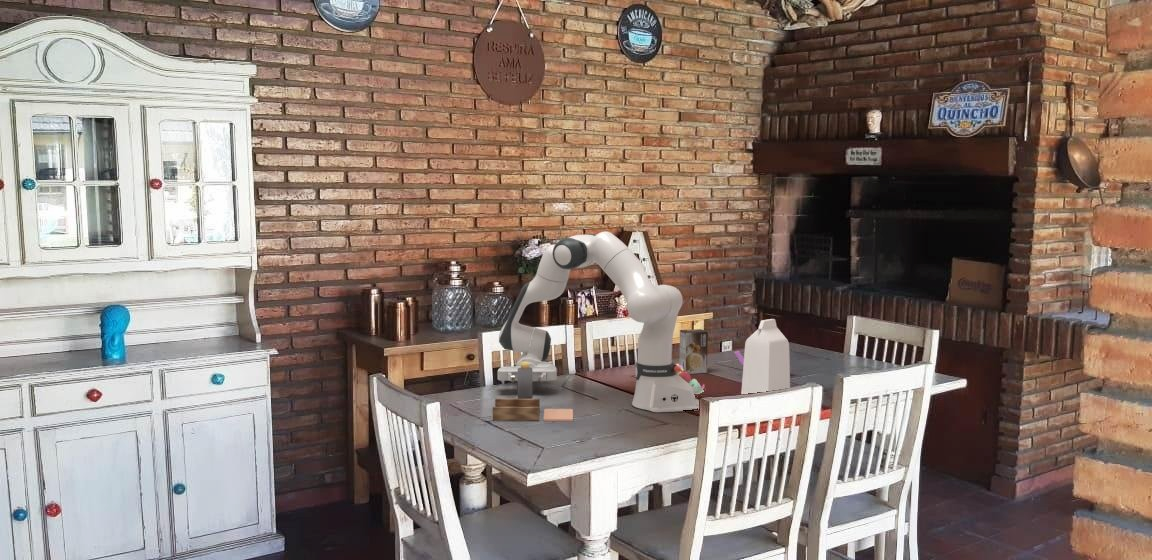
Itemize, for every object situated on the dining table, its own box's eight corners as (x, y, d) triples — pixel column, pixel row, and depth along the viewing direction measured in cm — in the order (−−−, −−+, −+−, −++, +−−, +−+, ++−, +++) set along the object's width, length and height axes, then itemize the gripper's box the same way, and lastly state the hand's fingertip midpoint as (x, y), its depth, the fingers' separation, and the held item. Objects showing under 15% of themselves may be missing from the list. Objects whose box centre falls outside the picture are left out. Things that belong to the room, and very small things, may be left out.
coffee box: (700, 369, 347) (701, 328, 345) (707, 373, 341) (708, 331, 339) (678, 370, 344) (679, 329, 342) (685, 374, 338) (686, 332, 336)
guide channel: (539, 411, 284) (539, 398, 284) (538, 420, 273) (538, 407, 273) (495, 410, 284) (495, 398, 284) (492, 420, 273) (492, 407, 273)
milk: (767, 400, 300) (770, 324, 297) (741, 394, 309) (743, 319, 306) (790, 395, 307) (792, 320, 304) (763, 389, 316) (765, 316, 313)
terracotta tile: (572, 410, 285) (572, 409, 285) (573, 421, 273) (573, 419, 273) (544, 410, 285) (544, 408, 285) (543, 421, 273) (543, 419, 273)
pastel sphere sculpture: (624, 393, 310) (625, 366, 309) (651, 379, 331) (651, 355, 330) (693, 402, 298) (693, 375, 297) (716, 387, 319) (717, 362, 318)
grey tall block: (532, 402, 294) (532, 361, 293) (532, 406, 290) (532, 364, 288) (518, 402, 294) (518, 360, 293) (517, 406, 290) (517, 364, 288)
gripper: (498, 361, 312) (495, 369, 298) (557, 361, 312) (556, 369, 298) (498, 378, 312) (495, 388, 299) (557, 378, 313) (556, 388, 299)
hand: (526, 378), depth 298 cm, fingers open, 8 cm apart
